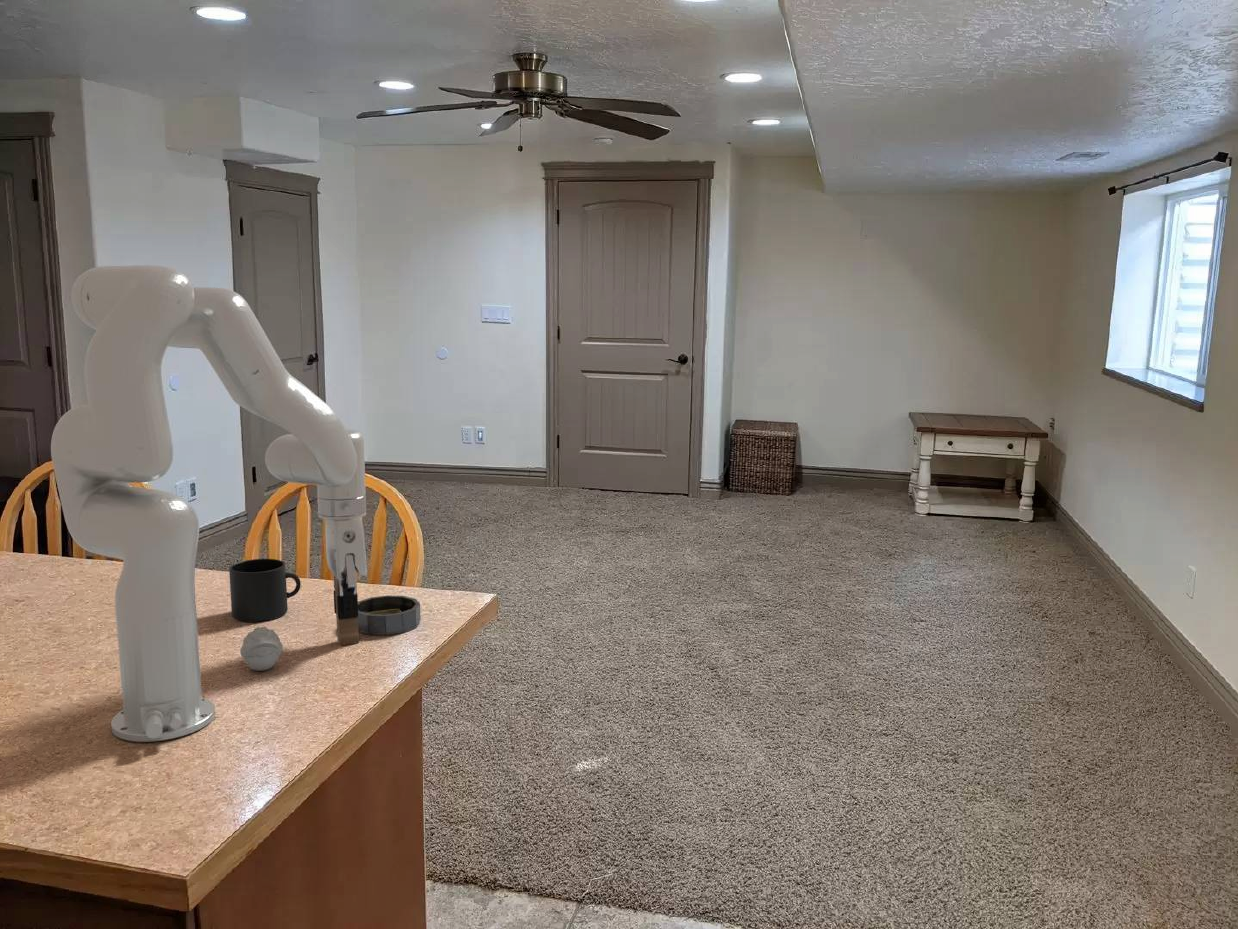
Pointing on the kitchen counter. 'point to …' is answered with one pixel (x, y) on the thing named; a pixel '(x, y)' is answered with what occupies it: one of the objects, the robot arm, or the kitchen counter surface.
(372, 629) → the dark grey round tray
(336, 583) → the brown rectangular bar
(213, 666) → the kitchen counter surface
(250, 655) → the frog figurine
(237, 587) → the mug
